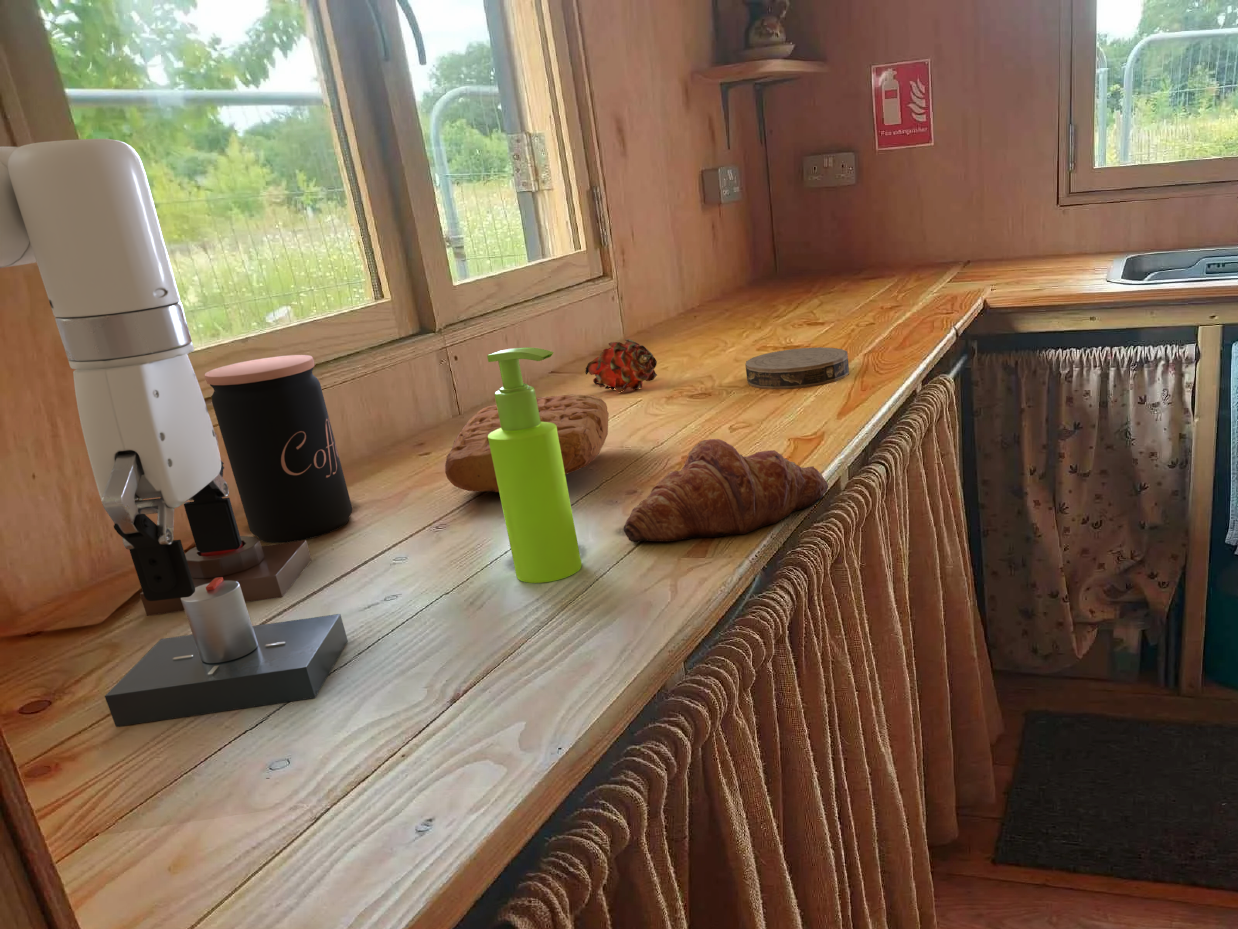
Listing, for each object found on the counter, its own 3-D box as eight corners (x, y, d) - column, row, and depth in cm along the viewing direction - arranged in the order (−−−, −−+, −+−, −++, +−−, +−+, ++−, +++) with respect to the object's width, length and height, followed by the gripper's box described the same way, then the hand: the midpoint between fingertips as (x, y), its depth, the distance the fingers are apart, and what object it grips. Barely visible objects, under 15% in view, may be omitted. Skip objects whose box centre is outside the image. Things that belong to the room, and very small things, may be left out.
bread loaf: (493, 458, 141) (480, 397, 138) (623, 445, 140) (614, 383, 137) (440, 511, 120) (425, 441, 117) (593, 497, 119) (581, 426, 116)
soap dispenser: (570, 585, 95) (528, 355, 88) (504, 581, 97) (456, 358, 90) (603, 560, 100) (565, 341, 93) (538, 558, 102) (496, 344, 95)
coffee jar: (309, 546, 113) (262, 374, 107) (230, 544, 117) (179, 378, 110) (375, 512, 122) (335, 352, 116) (299, 512, 126) (256, 356, 119)
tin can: (726, 384, 170) (724, 364, 168) (799, 363, 179) (797, 345, 178) (796, 392, 158) (795, 372, 157) (870, 370, 168) (869, 350, 167)
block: (147, 616, 99) (133, 575, 97) (188, 577, 108) (176, 539, 106) (282, 597, 100) (270, 556, 98) (312, 560, 109) (301, 522, 107)
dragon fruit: (666, 398, 172) (597, 413, 175) (669, 358, 176) (602, 374, 180) (643, 362, 165) (572, 378, 168) (648, 322, 169) (579, 338, 173)
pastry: (700, 490, 117) (690, 417, 114) (834, 493, 111) (827, 417, 108) (622, 545, 103) (609, 464, 100) (771, 552, 97) (761, 466, 94)
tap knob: (247, 659, 80) (226, 593, 78) (192, 666, 80) (169, 600, 78) (265, 637, 84) (246, 573, 82) (212, 644, 84) (191, 580, 82)
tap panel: (115, 726, 78) (103, 693, 77) (170, 666, 87) (160, 636, 86) (315, 697, 79) (305, 665, 78) (348, 641, 88) (340, 611, 87)
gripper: (124, 324, 81) (188, 539, 87) (0, 366, 65) (90, 626, 72) (228, 314, 82) (284, 529, 88) (130, 353, 66) (208, 612, 72)
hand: (197, 572), depth 80 cm, fingers open, 9 cm apart
